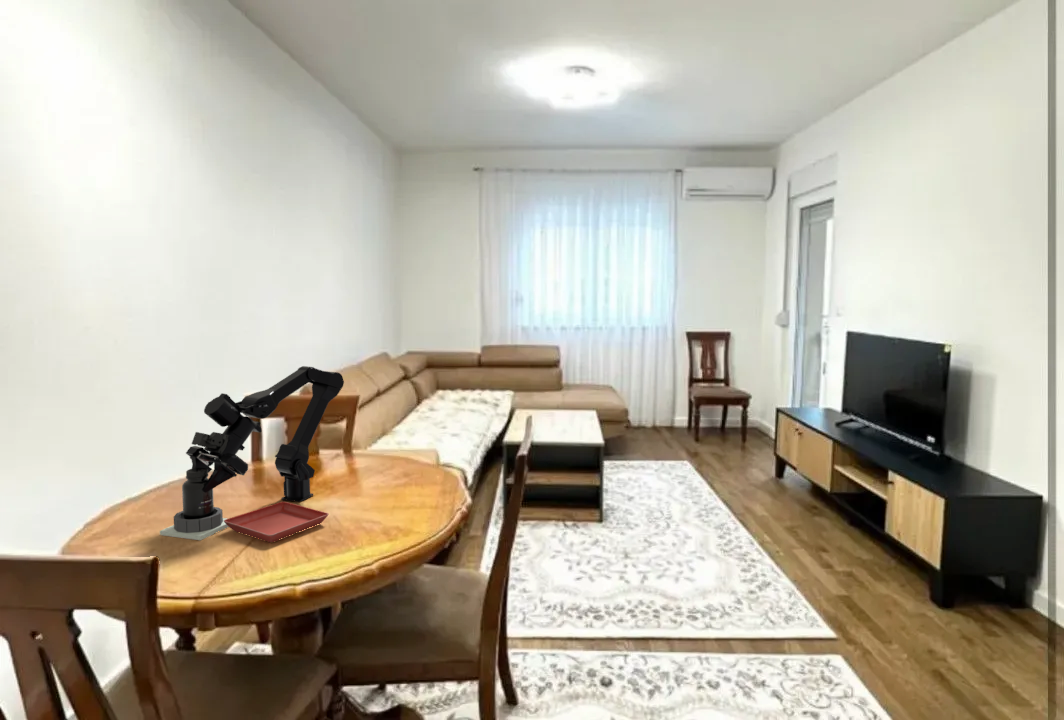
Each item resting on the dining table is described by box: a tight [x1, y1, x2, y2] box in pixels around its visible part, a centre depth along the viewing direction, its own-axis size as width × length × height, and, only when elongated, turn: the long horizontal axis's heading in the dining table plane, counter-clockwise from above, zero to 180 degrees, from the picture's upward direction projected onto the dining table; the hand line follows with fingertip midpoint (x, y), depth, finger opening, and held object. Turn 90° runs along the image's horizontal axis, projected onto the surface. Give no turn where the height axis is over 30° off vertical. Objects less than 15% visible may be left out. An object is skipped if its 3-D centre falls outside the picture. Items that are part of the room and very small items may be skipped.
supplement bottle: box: [181, 468, 215, 520], centre depth 161 cm, size 7×7×12 cm
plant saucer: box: [224, 501, 329, 543], centre depth 163 cm, size 18×18×3 cm
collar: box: [173, 506, 224, 533], centre depth 161 cm, size 10×10×3 cm
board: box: [159, 517, 230, 541], centre depth 162 cm, size 12×12×1 cm
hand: (195, 489), depth 160 cm, fingers closed on supplement bottle, 7 cm apart
